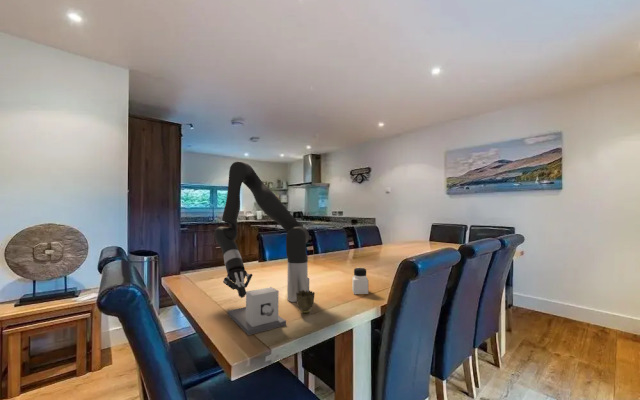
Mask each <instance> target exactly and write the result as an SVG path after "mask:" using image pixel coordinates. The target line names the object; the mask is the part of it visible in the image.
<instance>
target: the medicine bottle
mask: <svg viewBox="0 0 640 400" xmlns="http://www.w3.org/2000/svg"><path fill="white" fill-rule="evenodd" d="M367 277H368V276H367V269H366V268H365V267H355V268H354V270H353V276H352V277H351V280H352V281H351V282H352V287H351V289H352V290H351V291H352V293H353V295H356V294H368V295H369V279H368V278H367Z"/></svg>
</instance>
